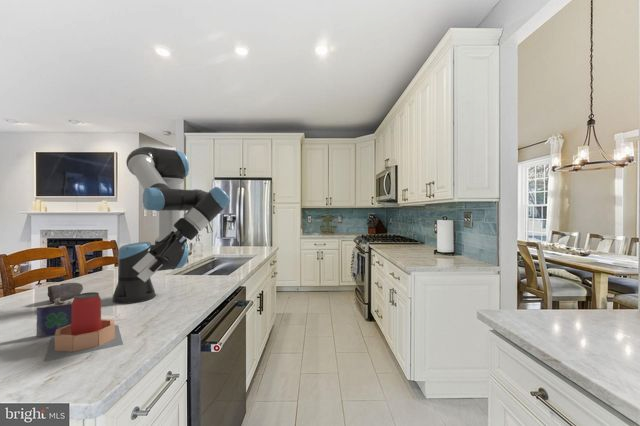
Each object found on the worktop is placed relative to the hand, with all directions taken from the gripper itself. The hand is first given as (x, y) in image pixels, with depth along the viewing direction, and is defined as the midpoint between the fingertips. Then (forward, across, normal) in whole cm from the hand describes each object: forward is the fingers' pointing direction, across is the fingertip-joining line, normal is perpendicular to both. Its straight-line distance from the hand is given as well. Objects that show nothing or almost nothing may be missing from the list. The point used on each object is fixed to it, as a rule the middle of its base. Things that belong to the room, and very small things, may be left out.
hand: (138, 274), depth 92 cm
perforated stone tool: (+28, +57, 0) cm, 64 cm away
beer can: (+20, -1, -3) cm, 21 cm away
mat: (+21, -1, -4) cm, 21 cm away
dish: (+21, -1, -3) cm, 21 cm away
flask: (+26, +11, +1) cm, 29 cm away
